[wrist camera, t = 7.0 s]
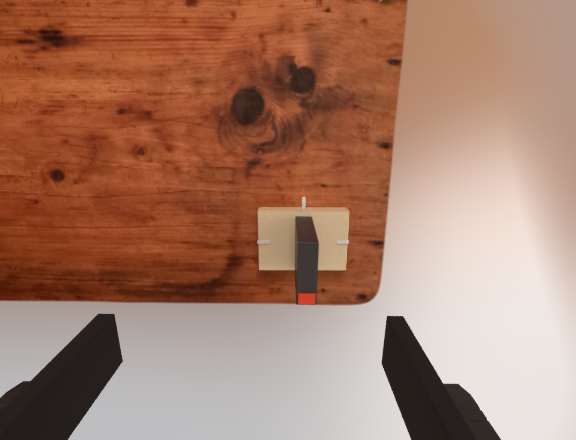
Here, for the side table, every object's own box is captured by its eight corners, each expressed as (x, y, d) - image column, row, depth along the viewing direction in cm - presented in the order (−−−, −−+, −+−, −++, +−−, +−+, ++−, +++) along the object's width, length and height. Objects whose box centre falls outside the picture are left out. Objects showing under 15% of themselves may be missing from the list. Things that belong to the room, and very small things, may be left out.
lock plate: (347, 193, 35) (351, 197, 33) (343, 275, 38) (346, 283, 36) (257, 193, 35) (256, 197, 33) (260, 274, 38) (258, 283, 36)
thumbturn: (295, 216, 34) (297, 243, 26) (312, 216, 34) (319, 243, 26) (294, 266, 36) (296, 306, 28) (310, 266, 36) (316, 306, 28)
